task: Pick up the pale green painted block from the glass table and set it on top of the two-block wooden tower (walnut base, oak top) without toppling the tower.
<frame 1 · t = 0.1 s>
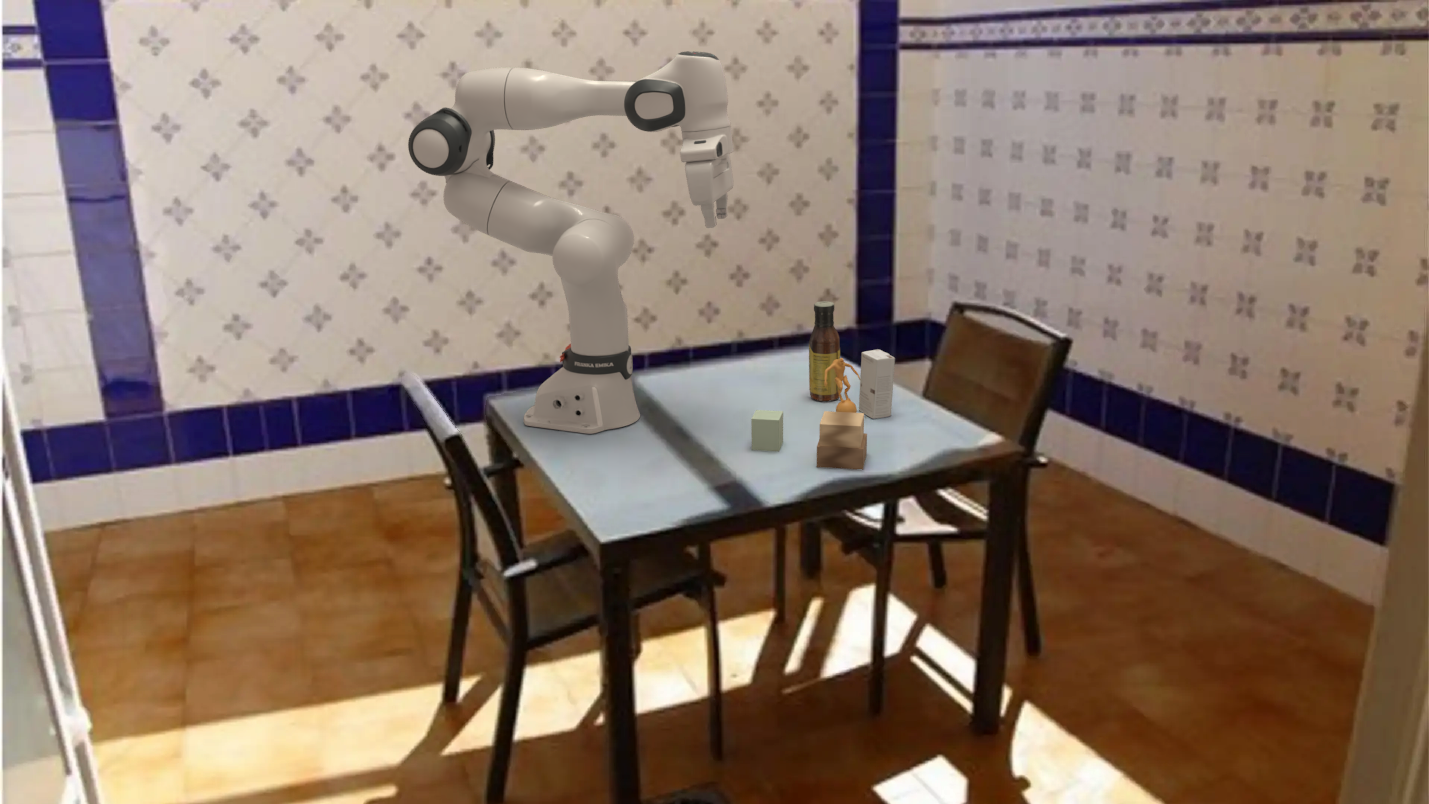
hand: (717, 222, 215), 39 cm above the table, tool pointing down, fingers open, 8 cm apart
tower base: (841, 461, 208), on the table, touching tower top
skincare box: (875, 414, 232), on the table
tower top: (841, 440, 207), point 4 cm above the table, touching tower base
sauce bottle: (824, 399, 241), on the table
green block: (767, 446, 216), on the table
figurine: (842, 419, 229), on the table
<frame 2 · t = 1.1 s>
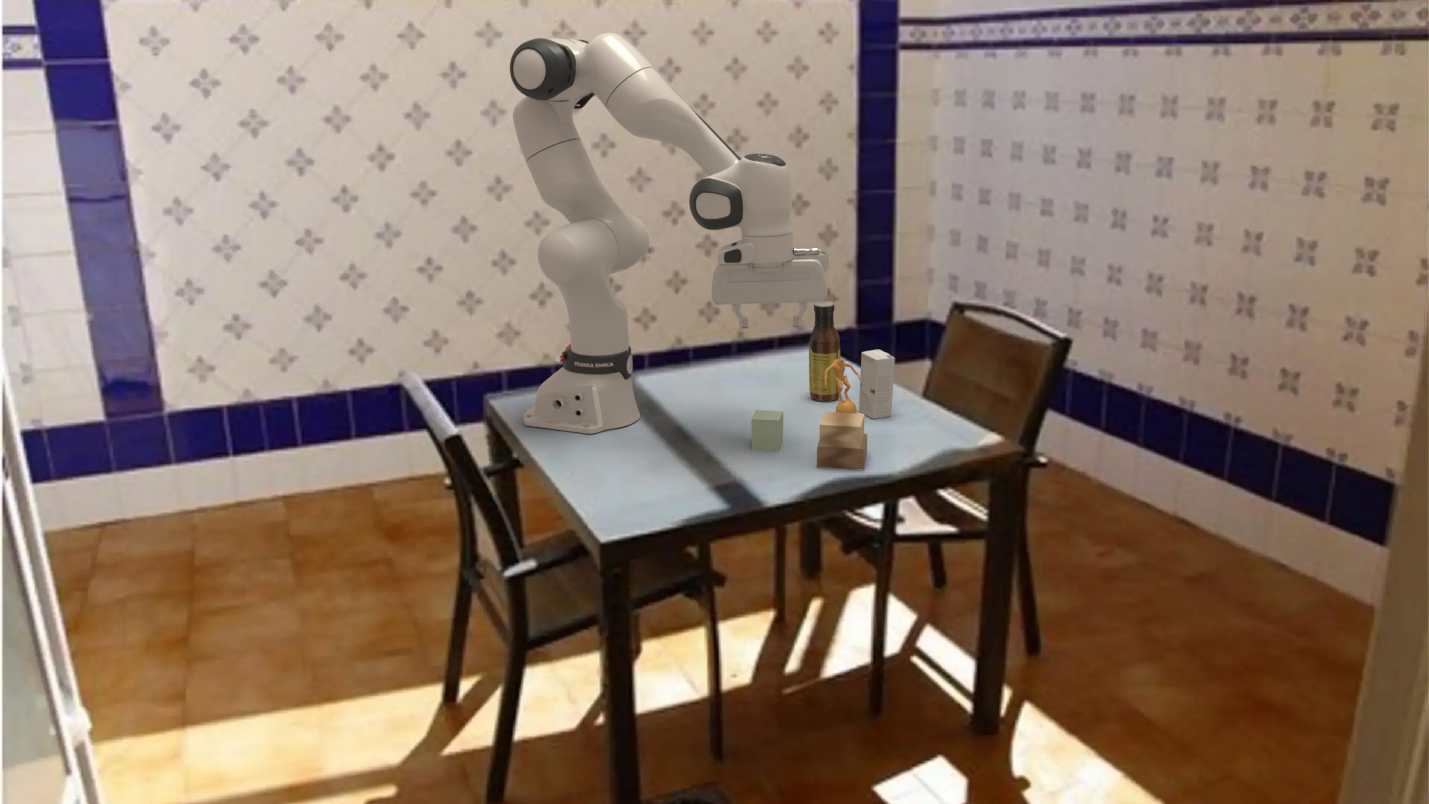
hand: (770, 327, 210), 22 cm above the table, tool pointing down, fingers open, 8 cm apart
nothing on the table moved.
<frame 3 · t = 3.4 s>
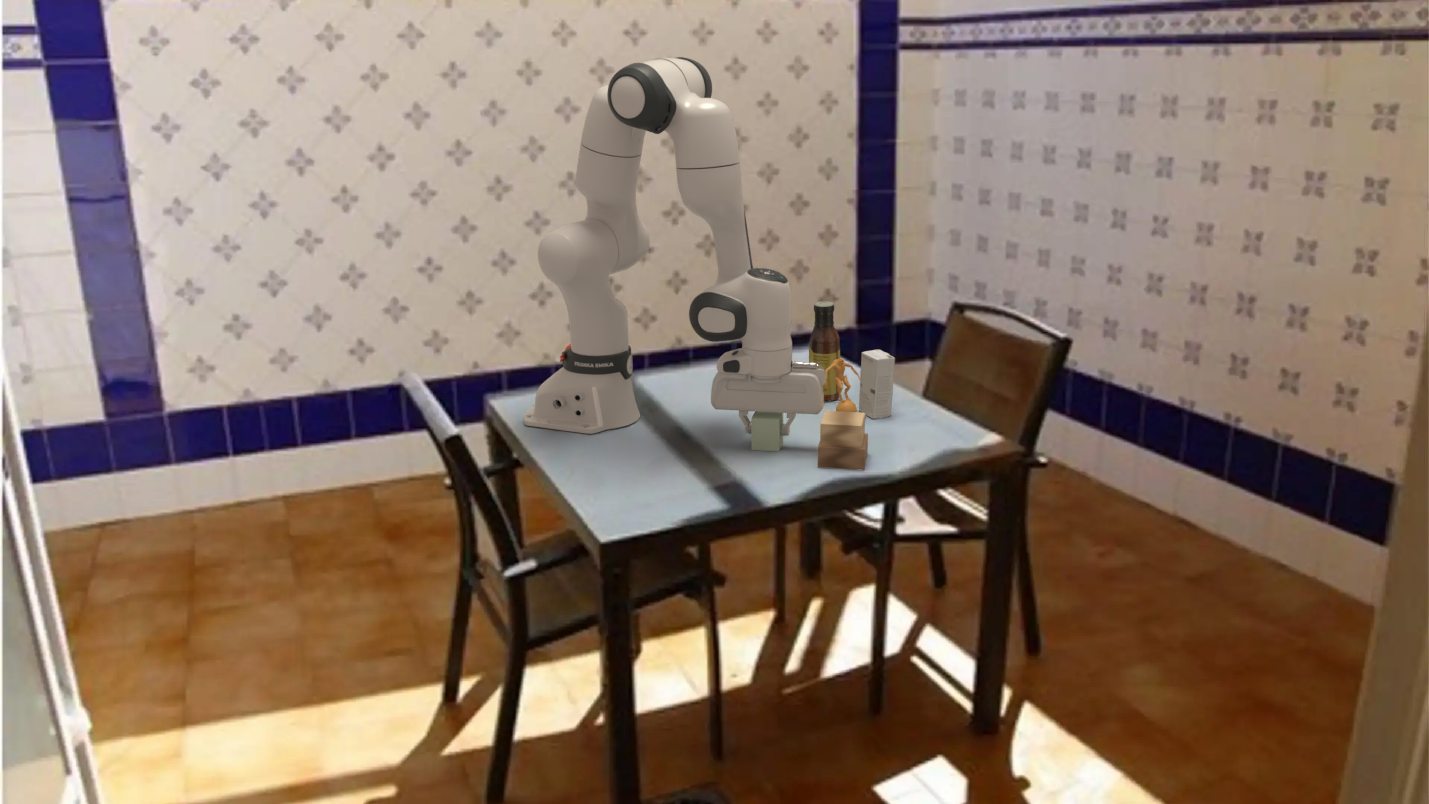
hand: (767, 433, 215), 2 cm above the table, tool pointing down, fingers closed on green block, 5 cm apart
green block: (767, 445, 216), on the table, touching gripper
everything else where it was.
when the fingers open (11 cm above the table, at t = 9.8 s): green block drops 1 cm, resting on tower top.
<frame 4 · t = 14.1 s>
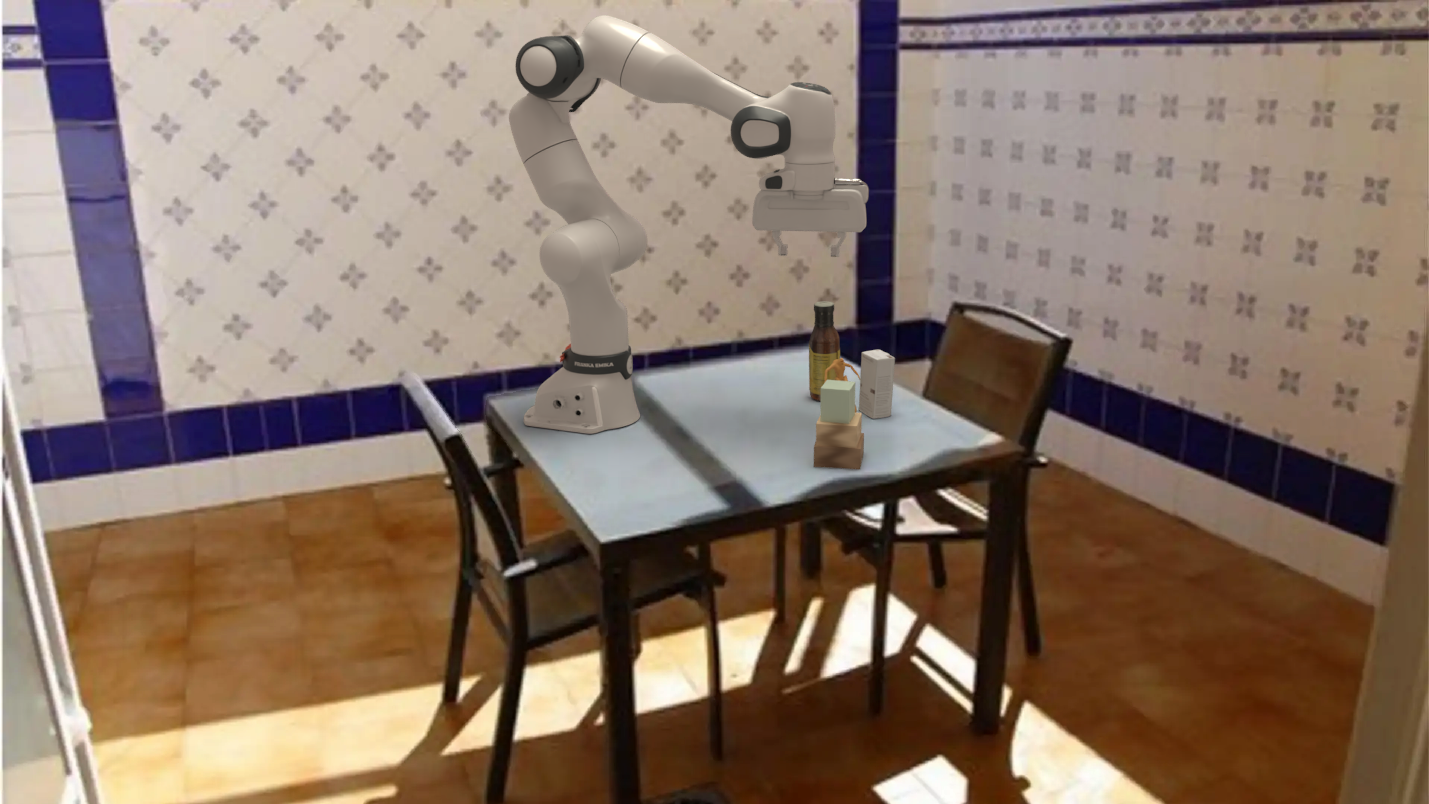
hand: (809, 255, 213), 33 cm above the table, tool pointing down, fingers open, 8 cm apart
tower top: (838, 439, 207), point 4 cm above the table, touching green block, tower base
green block: (837, 417, 206), point 8 cm above the table, touching tower top
everything else where it was.
at the end: green block inside the target area on the tower base (0.4 cm from its centre), point 8.0 cm above the tower base's base; green block tilted 0°; tower top moved 0.7 cm from its start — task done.
